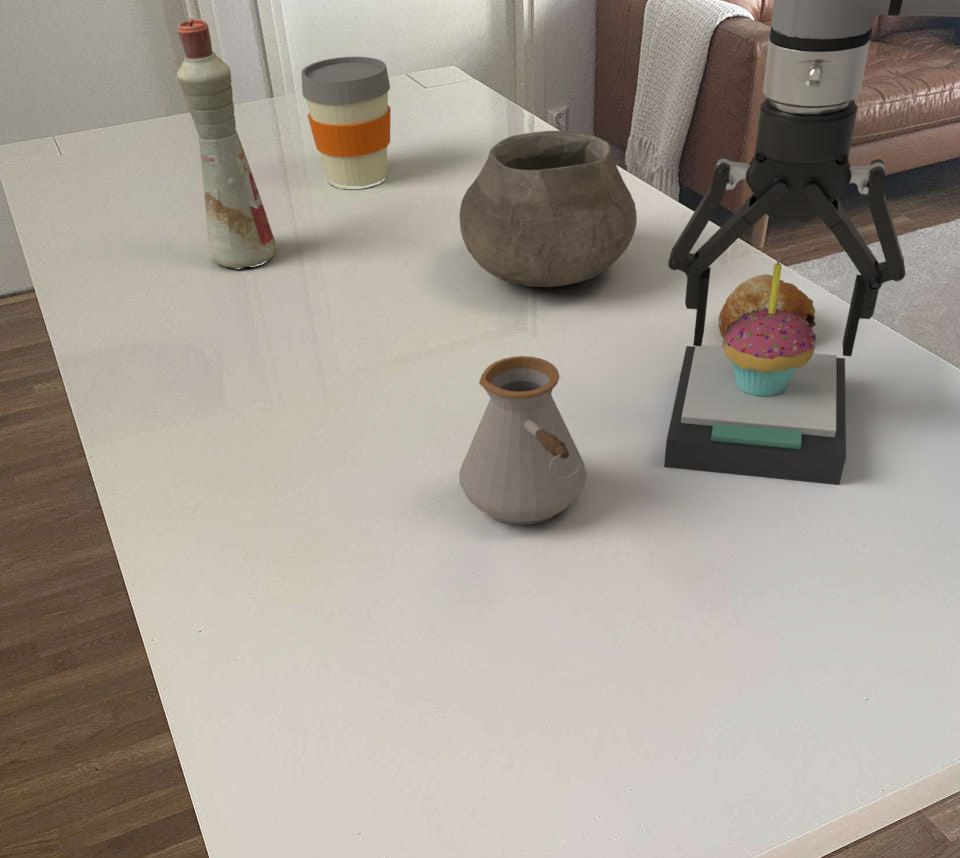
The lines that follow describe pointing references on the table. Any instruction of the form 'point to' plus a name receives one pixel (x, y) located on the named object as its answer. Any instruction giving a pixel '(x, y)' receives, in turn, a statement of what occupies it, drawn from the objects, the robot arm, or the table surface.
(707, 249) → the robot arm
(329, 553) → the table surface
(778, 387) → the cupcake
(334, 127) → the reusable coffee cup
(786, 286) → the bread roll
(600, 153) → the clay pot
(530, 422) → the coffee pot
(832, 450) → the scale
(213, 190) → the bottle
